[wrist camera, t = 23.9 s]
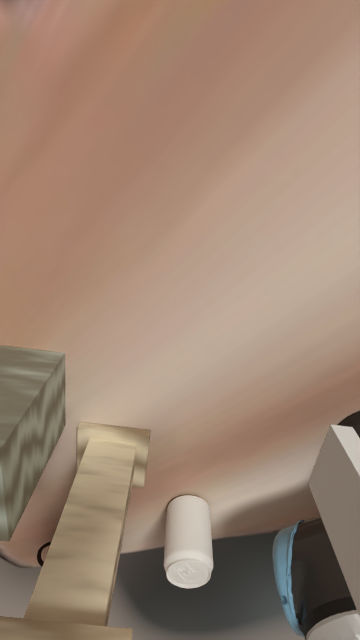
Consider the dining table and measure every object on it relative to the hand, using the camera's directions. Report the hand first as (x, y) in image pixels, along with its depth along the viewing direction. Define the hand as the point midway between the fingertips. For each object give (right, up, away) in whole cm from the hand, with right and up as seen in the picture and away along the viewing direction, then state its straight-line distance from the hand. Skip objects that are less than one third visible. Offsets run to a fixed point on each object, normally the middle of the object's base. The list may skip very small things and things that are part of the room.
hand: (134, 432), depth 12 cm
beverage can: (+3, -32, +54) cm, 63 cm away
